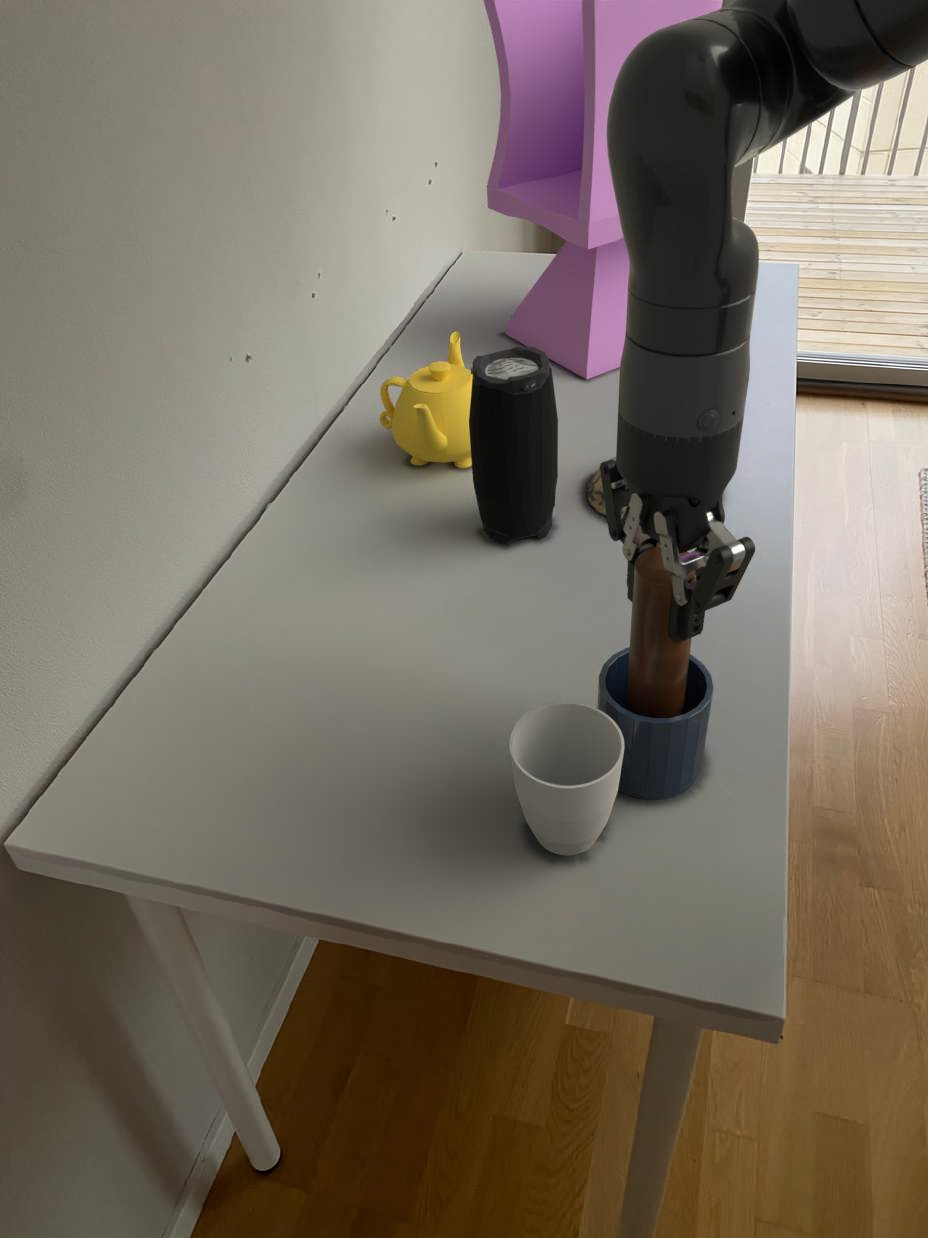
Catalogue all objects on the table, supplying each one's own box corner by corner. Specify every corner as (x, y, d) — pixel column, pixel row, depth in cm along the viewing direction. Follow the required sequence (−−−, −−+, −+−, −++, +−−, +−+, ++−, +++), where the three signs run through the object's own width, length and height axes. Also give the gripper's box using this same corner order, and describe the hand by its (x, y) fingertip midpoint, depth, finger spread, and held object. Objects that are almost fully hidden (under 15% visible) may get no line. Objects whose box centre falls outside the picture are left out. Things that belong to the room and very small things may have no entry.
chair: (493, 333, 143) (477, -20, 114) (607, 295, 152) (619, -43, 123) (585, 386, 129) (593, -5, 99) (705, 340, 137) (746, -32, 108)
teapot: (403, 408, 127) (394, 327, 120) (511, 413, 124) (508, 330, 117) (360, 489, 112) (346, 402, 105) (481, 497, 109) (475, 408, 102)
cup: (639, 823, 73) (647, 737, 67) (575, 892, 69) (576, 807, 62) (557, 772, 77) (557, 686, 71) (492, 833, 73) (486, 748, 67)
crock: (719, 749, 78) (733, 671, 72) (668, 817, 73) (677, 740, 67) (630, 706, 83) (636, 630, 77) (575, 767, 78) (577, 691, 72)
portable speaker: (461, 534, 104) (447, 370, 91) (511, 495, 109) (504, 334, 97) (524, 559, 100) (518, 390, 87) (573, 517, 105) (574, 352, 92)
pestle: (693, 701, 74) (711, 559, 65) (665, 735, 71) (679, 592, 62) (644, 679, 76) (655, 539, 67) (615, 711, 74) (622, 570, 65)
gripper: (813, 433, 53) (770, 656, 64) (661, 345, 63) (646, 551, 74) (706, 472, 51) (680, 696, 62) (565, 374, 61) (565, 582, 72)
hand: (662, 616), depth 68 cm, fingers closed on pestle, 4 cm apart
